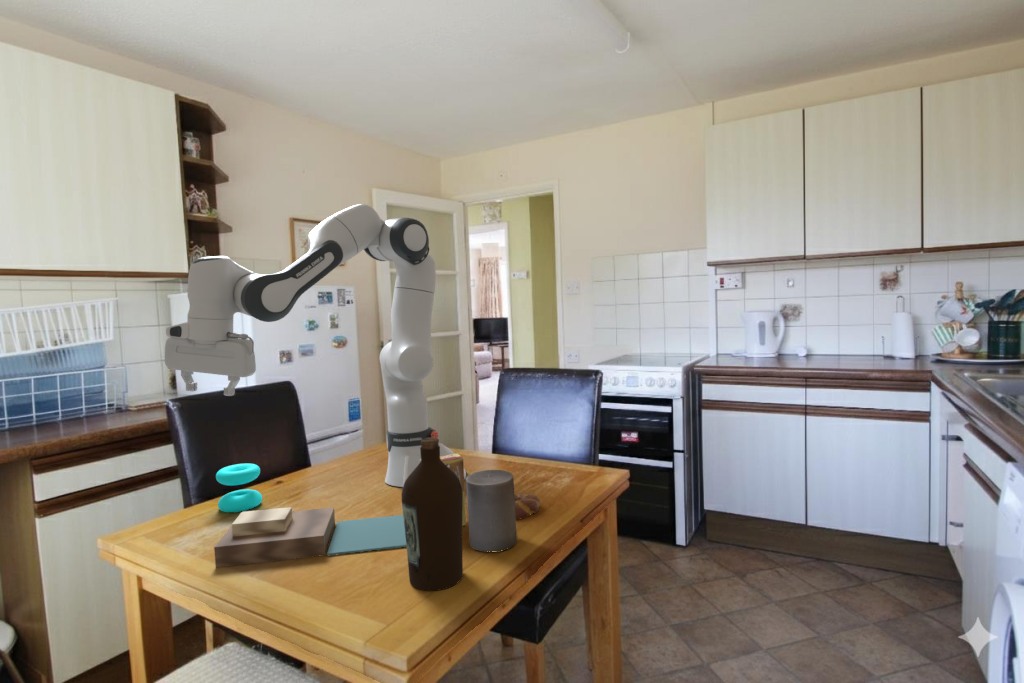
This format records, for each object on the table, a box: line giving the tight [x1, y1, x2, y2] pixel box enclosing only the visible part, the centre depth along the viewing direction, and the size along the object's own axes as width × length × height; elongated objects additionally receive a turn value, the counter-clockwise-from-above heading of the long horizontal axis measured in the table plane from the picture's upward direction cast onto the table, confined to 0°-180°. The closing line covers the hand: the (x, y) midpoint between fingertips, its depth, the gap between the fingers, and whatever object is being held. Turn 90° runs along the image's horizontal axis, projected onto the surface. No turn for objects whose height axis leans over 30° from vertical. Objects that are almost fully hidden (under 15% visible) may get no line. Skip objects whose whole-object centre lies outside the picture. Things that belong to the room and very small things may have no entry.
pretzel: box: [515, 493, 541, 520], centre depth 132 cm, size 12×11×4 cm
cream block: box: [231, 506, 293, 537], centre depth 117 cm, size 10×7×2 cm
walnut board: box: [213, 506, 336, 568], centre depth 118 cm, size 20×16×4 cm
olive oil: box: [401, 437, 464, 591], centre depth 100 cm, size 11×11×25 cm
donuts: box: [215, 462, 263, 513], centre depth 141 cm, size 10×10×10 cm
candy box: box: [420, 453, 467, 527], centre depth 123 cm, size 9×4×15 cm, turn 116°
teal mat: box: [326, 514, 407, 557], centre depth 121 cm, size 16×17×1 cm
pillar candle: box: [464, 469, 518, 553], centre depth 114 cm, size 10×10×15 cm
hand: (210, 393), depth 125 cm, fingers open, 8 cm apart
